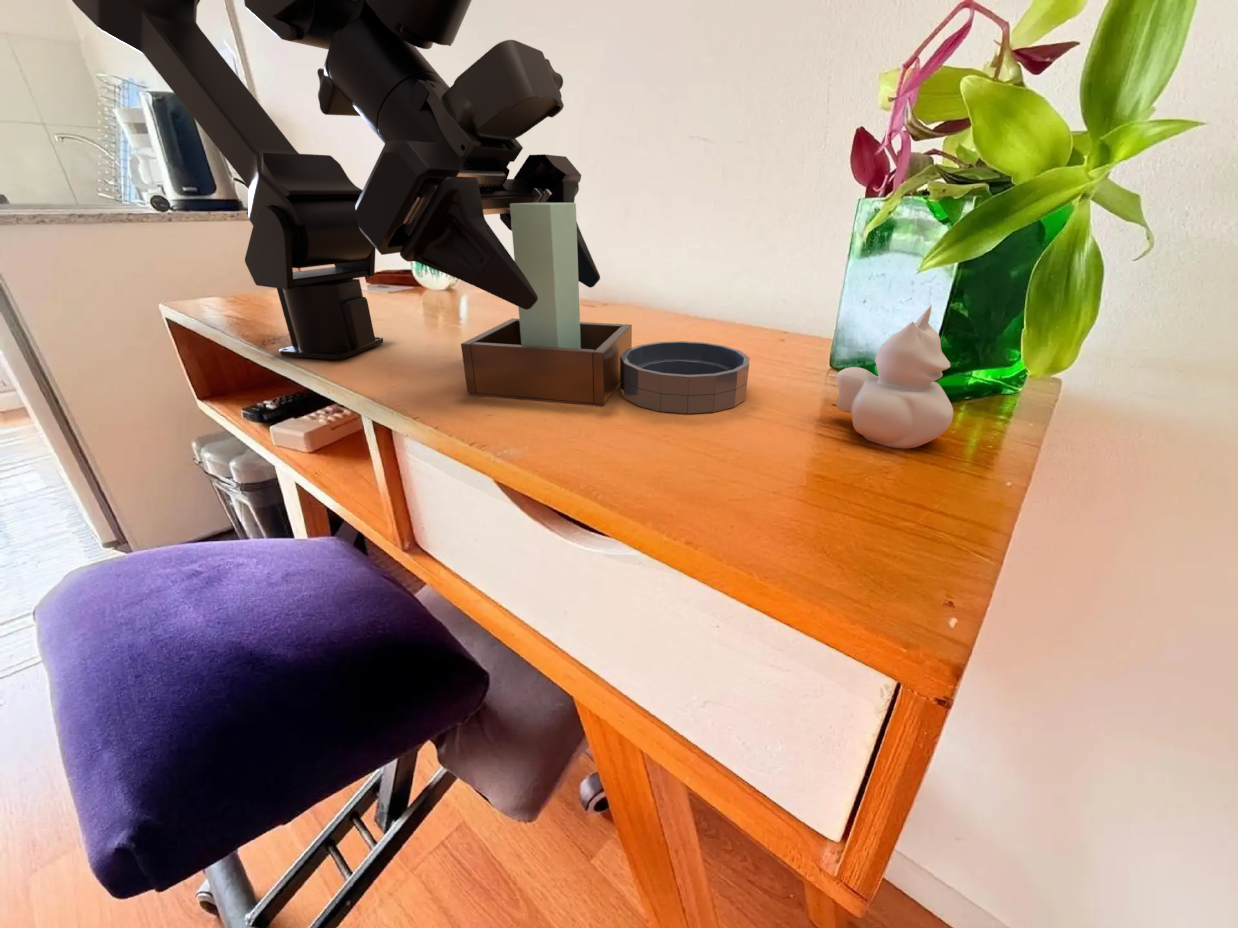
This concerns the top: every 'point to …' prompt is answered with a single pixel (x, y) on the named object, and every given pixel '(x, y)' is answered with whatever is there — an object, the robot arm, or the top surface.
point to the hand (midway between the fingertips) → (567, 293)
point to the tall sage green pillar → (548, 272)
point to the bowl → (684, 376)
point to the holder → (546, 365)
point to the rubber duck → (900, 390)
